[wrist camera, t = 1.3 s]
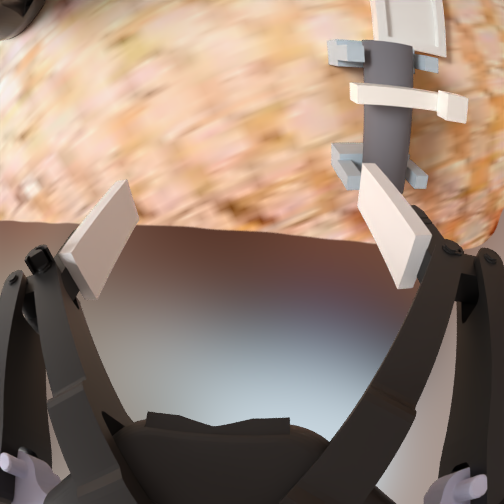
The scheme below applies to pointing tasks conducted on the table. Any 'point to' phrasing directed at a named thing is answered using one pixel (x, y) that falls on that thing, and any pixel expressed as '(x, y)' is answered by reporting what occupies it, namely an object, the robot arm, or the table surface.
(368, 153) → the gray cylinder
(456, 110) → the white l-shaped hook
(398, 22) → the tray
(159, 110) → the table surface
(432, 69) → the cradle
